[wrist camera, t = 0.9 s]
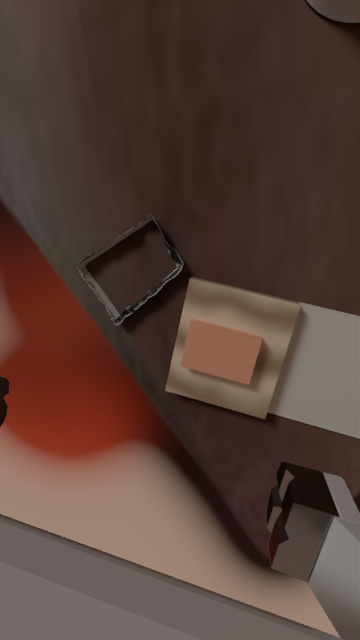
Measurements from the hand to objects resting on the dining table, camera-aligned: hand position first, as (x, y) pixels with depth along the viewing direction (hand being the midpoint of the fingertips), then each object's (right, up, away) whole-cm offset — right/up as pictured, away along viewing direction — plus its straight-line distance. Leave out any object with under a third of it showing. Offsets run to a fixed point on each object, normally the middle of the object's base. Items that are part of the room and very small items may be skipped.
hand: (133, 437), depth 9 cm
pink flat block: (+7, 0, +33) cm, 34 cm away
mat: (+22, -4, +33) cm, 40 cm away
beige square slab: (+8, 0, +35) cm, 36 cm away
